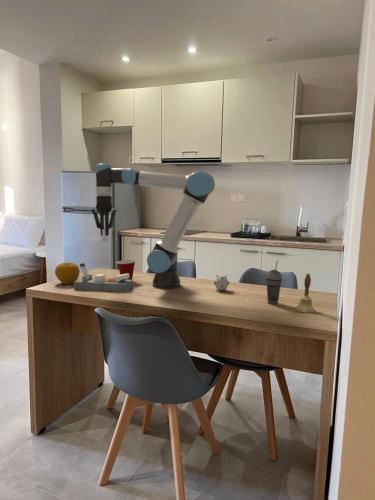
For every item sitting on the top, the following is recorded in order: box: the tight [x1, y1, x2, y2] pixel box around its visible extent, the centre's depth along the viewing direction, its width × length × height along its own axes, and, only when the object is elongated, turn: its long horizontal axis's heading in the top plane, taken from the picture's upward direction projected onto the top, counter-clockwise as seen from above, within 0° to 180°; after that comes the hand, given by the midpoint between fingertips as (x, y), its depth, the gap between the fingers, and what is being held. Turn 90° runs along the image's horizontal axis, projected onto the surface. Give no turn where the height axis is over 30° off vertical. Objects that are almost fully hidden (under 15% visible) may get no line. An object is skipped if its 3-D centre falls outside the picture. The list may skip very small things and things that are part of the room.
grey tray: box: [73, 273, 133, 293], centre depth 188 cm, size 28×10×6 cm, turn 83°
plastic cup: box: [116, 259, 136, 280], centre depth 204 cm, size 11×11×12 cm
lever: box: [79, 262, 90, 280], centre depth 189 cm, size 3×5×9 cm, turn 173°
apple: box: [54, 262, 80, 285], centre depth 198 cm, size 13×13×11 cm
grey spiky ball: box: [213, 274, 231, 292], centre depth 187 cm, size 9×8×10 cm
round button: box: [106, 276, 115, 282], centre depth 188 cm, size 4×4×4 cm
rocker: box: [114, 273, 130, 281], centre depth 187 cm, size 6×4×2 cm, turn 83°
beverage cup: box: [265, 260, 283, 306], centre depth 165 cm, size 7×7×20 cm
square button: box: [94, 273, 106, 282], centre depth 188 cm, size 4×4×4 cm
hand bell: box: [295, 273, 316, 314], centre depth 156 cm, size 8×8×16 cm
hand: (104, 242), depth 185 cm, fingers closed
